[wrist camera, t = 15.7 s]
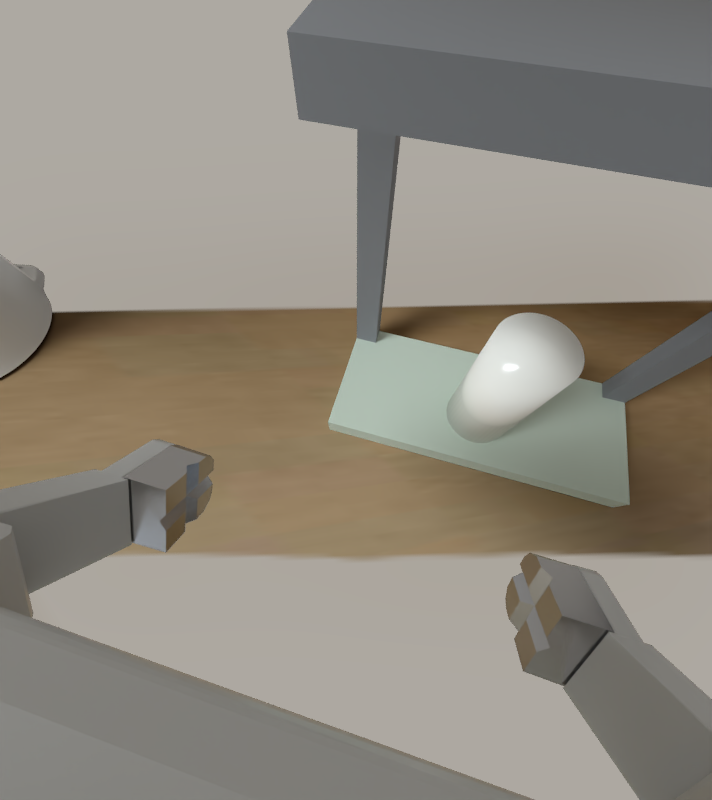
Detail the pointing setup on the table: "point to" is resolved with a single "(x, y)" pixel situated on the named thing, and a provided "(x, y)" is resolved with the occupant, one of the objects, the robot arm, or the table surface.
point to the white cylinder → (514, 376)
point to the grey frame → (518, 135)
